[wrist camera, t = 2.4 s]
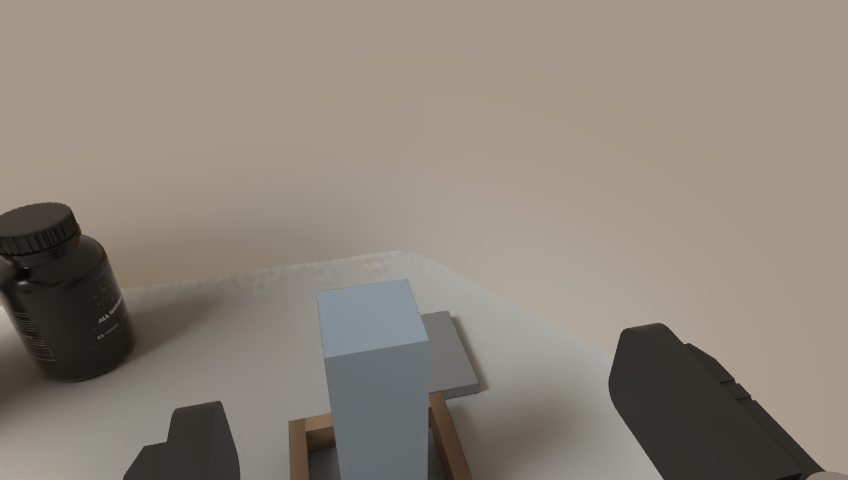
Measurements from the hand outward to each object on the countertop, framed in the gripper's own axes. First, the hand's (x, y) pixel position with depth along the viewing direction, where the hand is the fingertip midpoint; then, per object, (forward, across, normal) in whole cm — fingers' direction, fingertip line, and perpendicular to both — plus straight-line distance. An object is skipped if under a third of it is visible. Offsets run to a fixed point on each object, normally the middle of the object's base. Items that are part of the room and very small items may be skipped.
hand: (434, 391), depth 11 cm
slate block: (+11, 0, +21) cm, 24 cm away
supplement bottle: (+28, +20, +21) cm, 41 cm away
